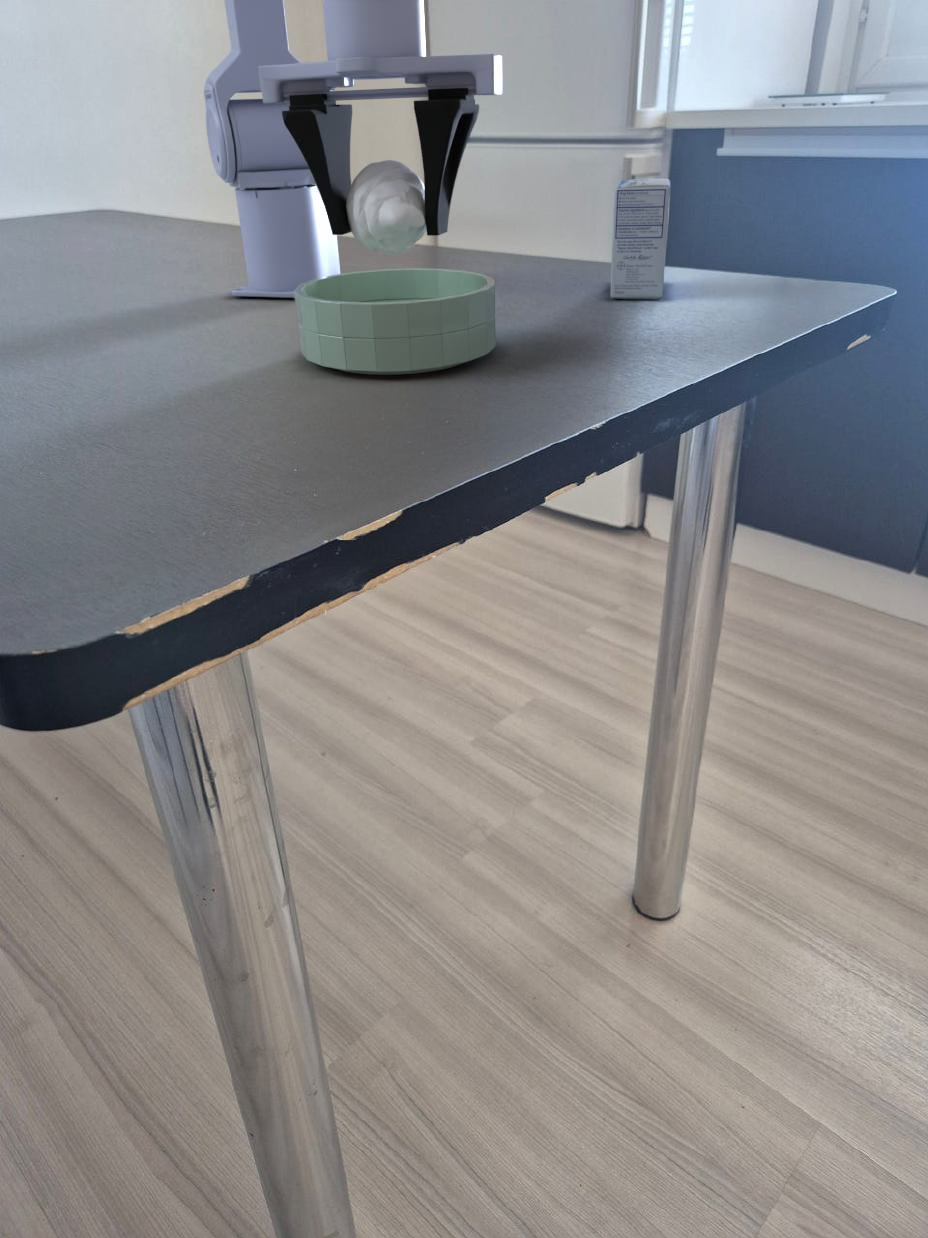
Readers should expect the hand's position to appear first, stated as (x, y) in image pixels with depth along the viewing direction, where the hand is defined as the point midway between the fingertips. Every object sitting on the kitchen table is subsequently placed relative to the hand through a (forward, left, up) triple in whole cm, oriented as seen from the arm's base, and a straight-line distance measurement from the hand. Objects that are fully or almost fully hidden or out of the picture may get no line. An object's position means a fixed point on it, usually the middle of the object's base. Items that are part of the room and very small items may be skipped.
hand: (389, 233), depth 54 cm
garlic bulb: (0, +1, -2) cm, 2 cm away
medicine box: (-25, +13, -8) cm, 29 cm away
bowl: (0, 0, -8) cm, 8 cm away
